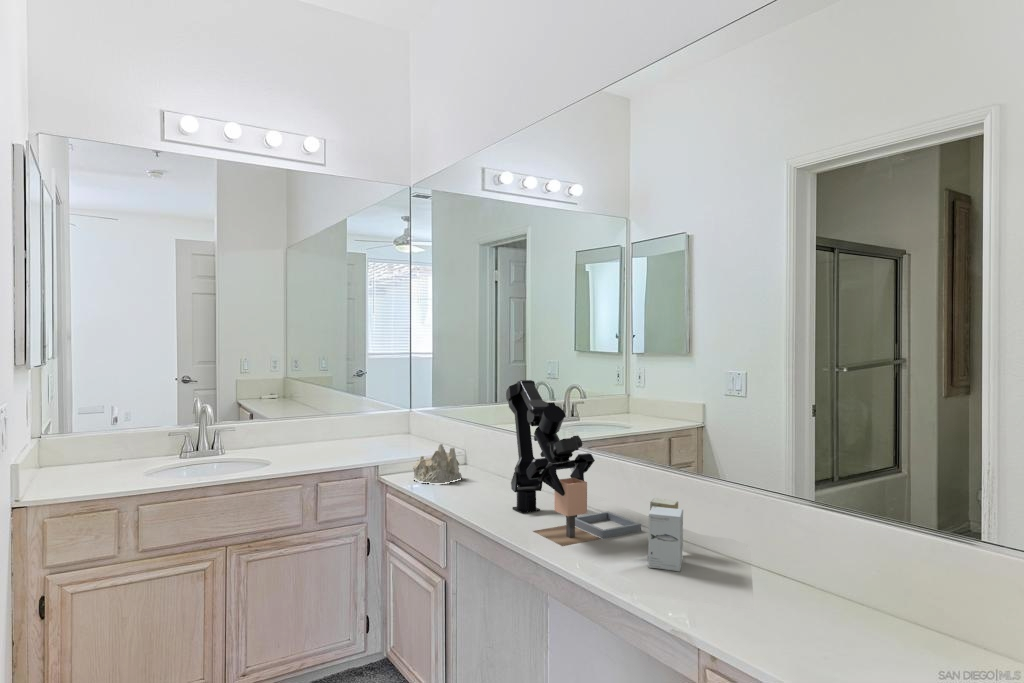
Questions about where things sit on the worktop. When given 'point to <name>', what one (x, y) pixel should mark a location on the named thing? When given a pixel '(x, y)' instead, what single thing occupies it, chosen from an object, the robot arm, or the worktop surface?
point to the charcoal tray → (627, 528)
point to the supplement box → (665, 538)
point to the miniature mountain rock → (438, 467)
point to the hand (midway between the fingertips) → (573, 493)
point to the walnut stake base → (562, 535)
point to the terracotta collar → (572, 497)
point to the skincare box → (664, 503)
